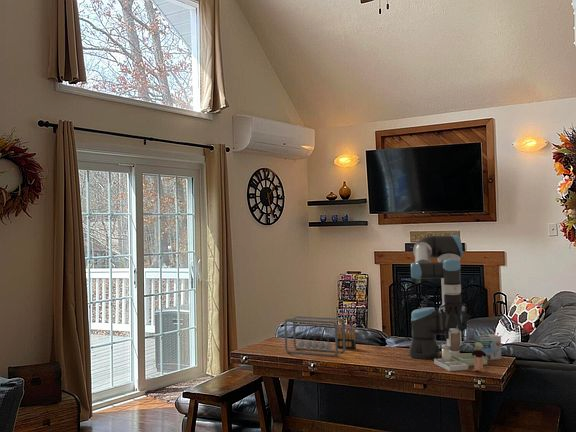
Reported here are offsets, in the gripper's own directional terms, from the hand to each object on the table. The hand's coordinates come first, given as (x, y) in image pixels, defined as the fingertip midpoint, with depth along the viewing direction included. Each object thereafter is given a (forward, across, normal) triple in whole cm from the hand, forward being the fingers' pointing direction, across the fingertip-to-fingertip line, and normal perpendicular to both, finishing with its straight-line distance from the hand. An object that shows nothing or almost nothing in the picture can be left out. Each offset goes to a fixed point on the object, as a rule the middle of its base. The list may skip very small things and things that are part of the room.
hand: (454, 345), depth 285 cm
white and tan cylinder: (+4, 0, 0) cm, 4 cm away
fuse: (+10, 0, +8) cm, 13 cm away
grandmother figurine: (+10, +8, -8) cm, 15 cm away
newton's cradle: (+11, -52, +54) cm, 75 cm away
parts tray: (+10, +11, +8) cm, 17 cm away
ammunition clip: (+11, -33, +60) cm, 69 cm away
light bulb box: (+11, +24, +14) cm, 29 cm away
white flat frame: (+10, 0, +4) cm, 11 cm away
